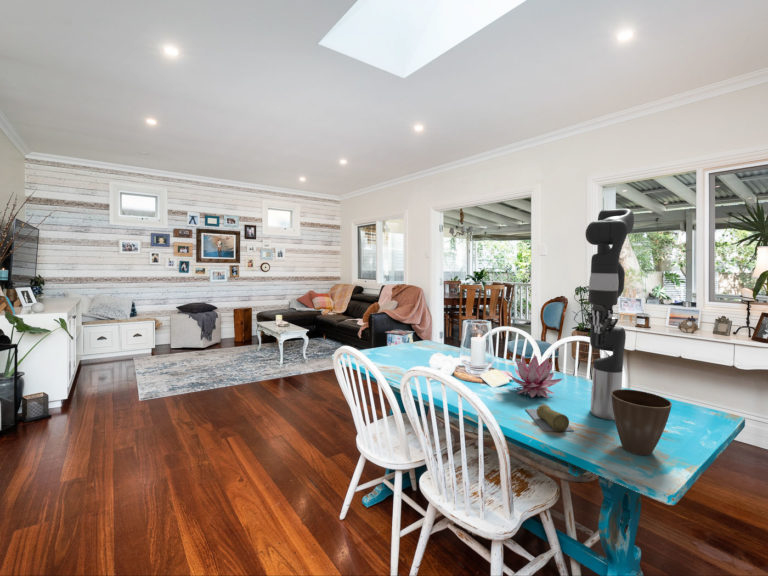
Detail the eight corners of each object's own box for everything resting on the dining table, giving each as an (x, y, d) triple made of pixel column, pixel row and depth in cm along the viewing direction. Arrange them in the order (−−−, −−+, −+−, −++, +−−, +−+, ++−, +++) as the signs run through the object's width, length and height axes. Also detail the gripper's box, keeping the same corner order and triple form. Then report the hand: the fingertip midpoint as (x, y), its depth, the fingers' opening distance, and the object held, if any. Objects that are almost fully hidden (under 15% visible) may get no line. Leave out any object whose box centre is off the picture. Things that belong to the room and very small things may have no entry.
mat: (525, 409, 142) (525, 408, 142) (552, 410, 142) (552, 409, 142) (543, 430, 125) (543, 429, 125) (573, 431, 125) (573, 430, 125)
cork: (571, 426, 125) (551, 413, 135) (565, 411, 124) (545, 399, 135) (556, 435, 124) (537, 421, 135) (549, 420, 123) (531, 407, 134)
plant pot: (643, 437, 121) (646, 389, 120) (681, 462, 106) (685, 407, 105) (598, 437, 120) (600, 389, 119) (629, 462, 105) (633, 407, 104)
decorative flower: (497, 394, 159) (498, 359, 158) (518, 382, 175) (519, 350, 174) (550, 407, 145) (551, 369, 144) (567, 393, 161) (568, 359, 160)
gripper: (629, 290, 105) (626, 351, 106) (604, 287, 118) (601, 341, 119) (602, 290, 105) (599, 351, 106) (579, 286, 118) (577, 341, 120)
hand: (600, 345), depth 113 cm, fingers closed
